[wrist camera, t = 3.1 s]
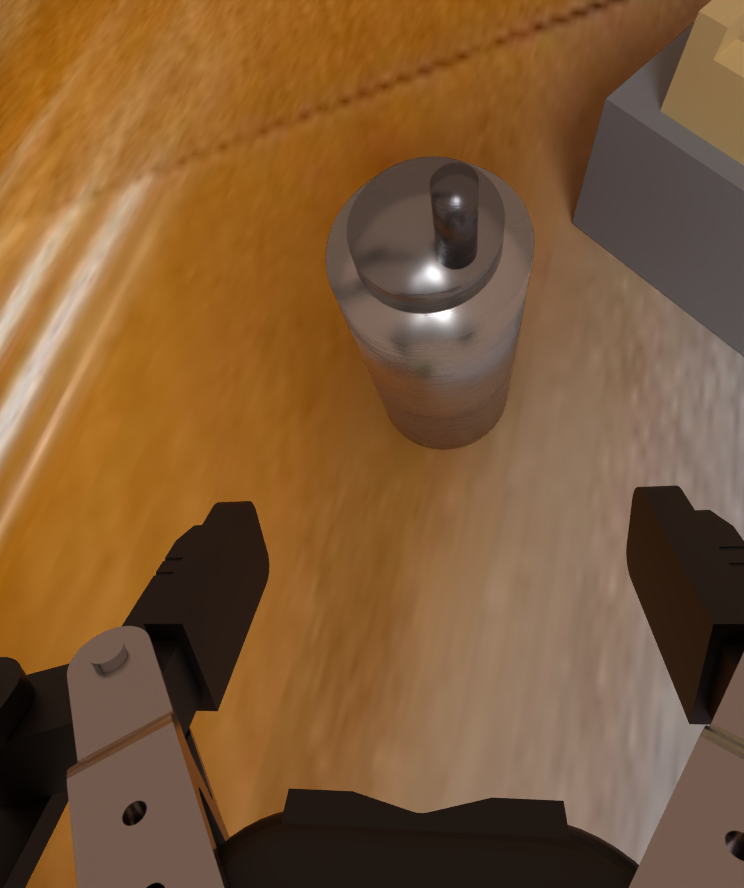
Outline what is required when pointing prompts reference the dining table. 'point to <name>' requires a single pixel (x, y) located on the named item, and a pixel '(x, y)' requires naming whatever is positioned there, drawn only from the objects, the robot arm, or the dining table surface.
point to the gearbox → (678, 172)
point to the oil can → (435, 293)
